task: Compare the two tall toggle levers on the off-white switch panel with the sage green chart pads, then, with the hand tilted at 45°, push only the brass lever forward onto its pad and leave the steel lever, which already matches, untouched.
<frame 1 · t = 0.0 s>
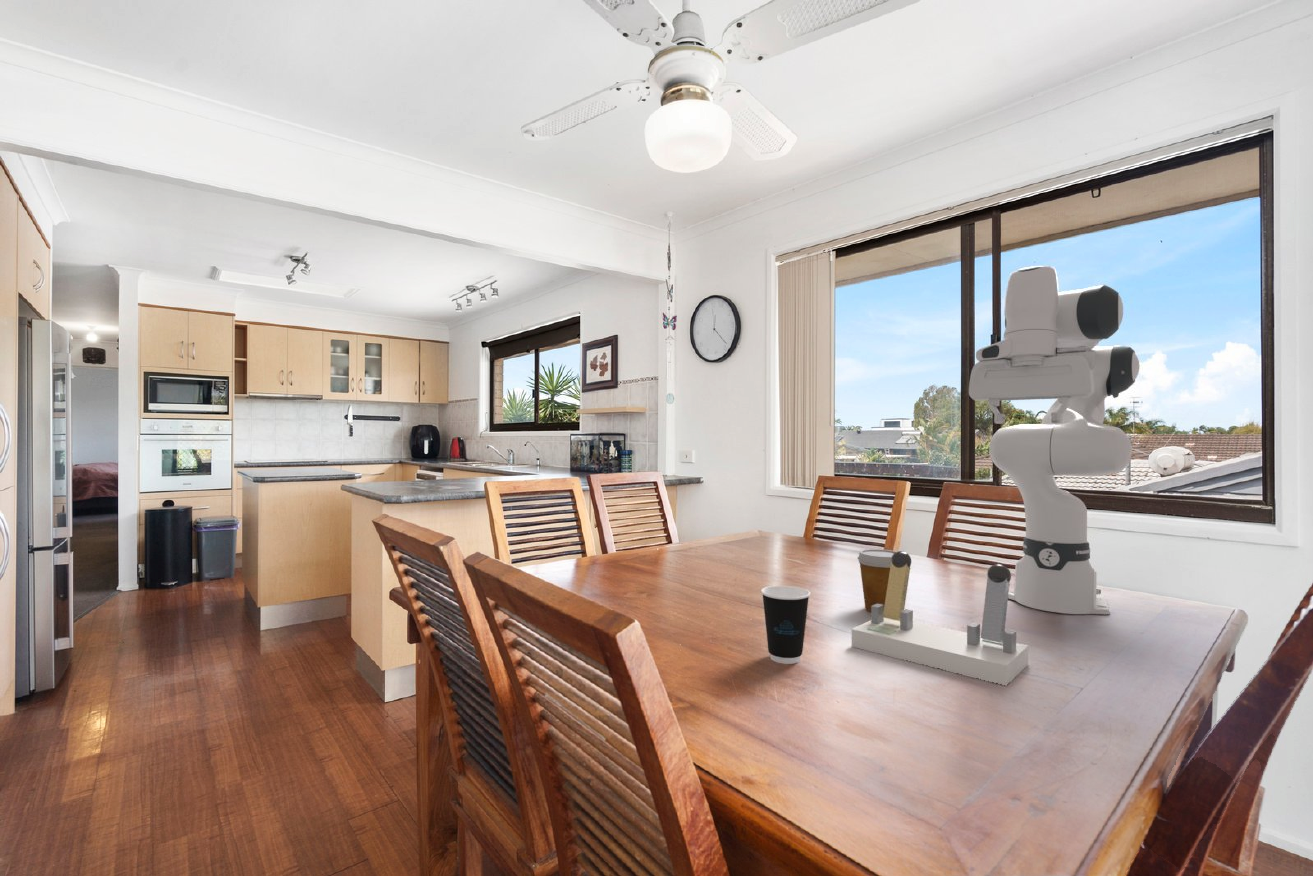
hand: (1027, 423, 116), 39 cm above the table, tool pointing down, fingers open, 8 cm apart
steel lever: (996, 602, 99), point 10 cm above the table, hinge at -20.0°
dixie cup: (785, 659, 101), on the table
disposable coffee cup: (881, 611, 129), on the table
brass lever: (897, 585, 111), point 10 cm above the table, hinge at -20.0°
switch panel: (936, 655, 103), on the table
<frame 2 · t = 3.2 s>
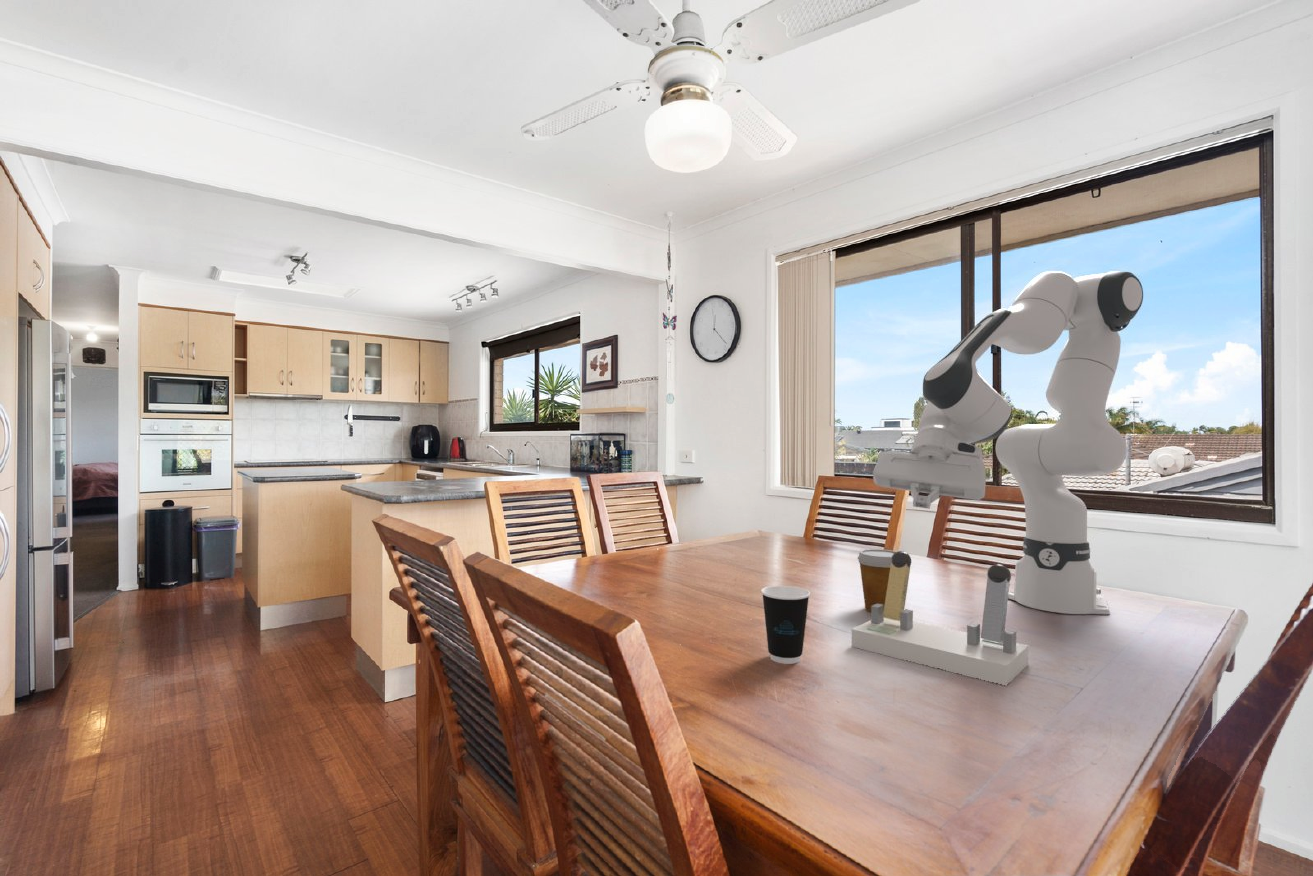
hand: (921, 505, 117), 23 cm above the table, tool tilted 45°, fingers closed
nothing on the table moved.
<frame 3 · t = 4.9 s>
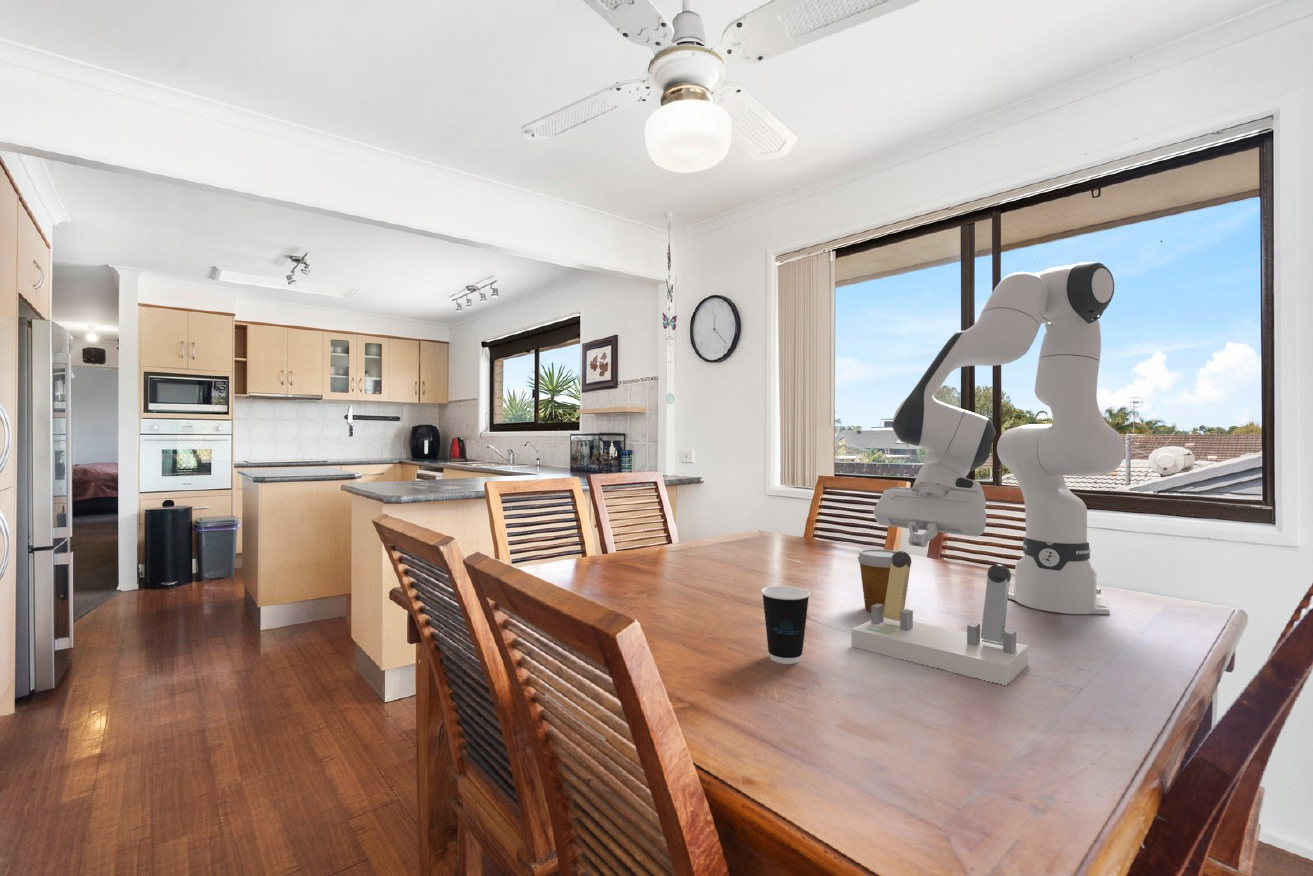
hand: (916, 544, 117), 16 cm above the table, tool tilted 45°, fingers closed
nothing on the table moved.
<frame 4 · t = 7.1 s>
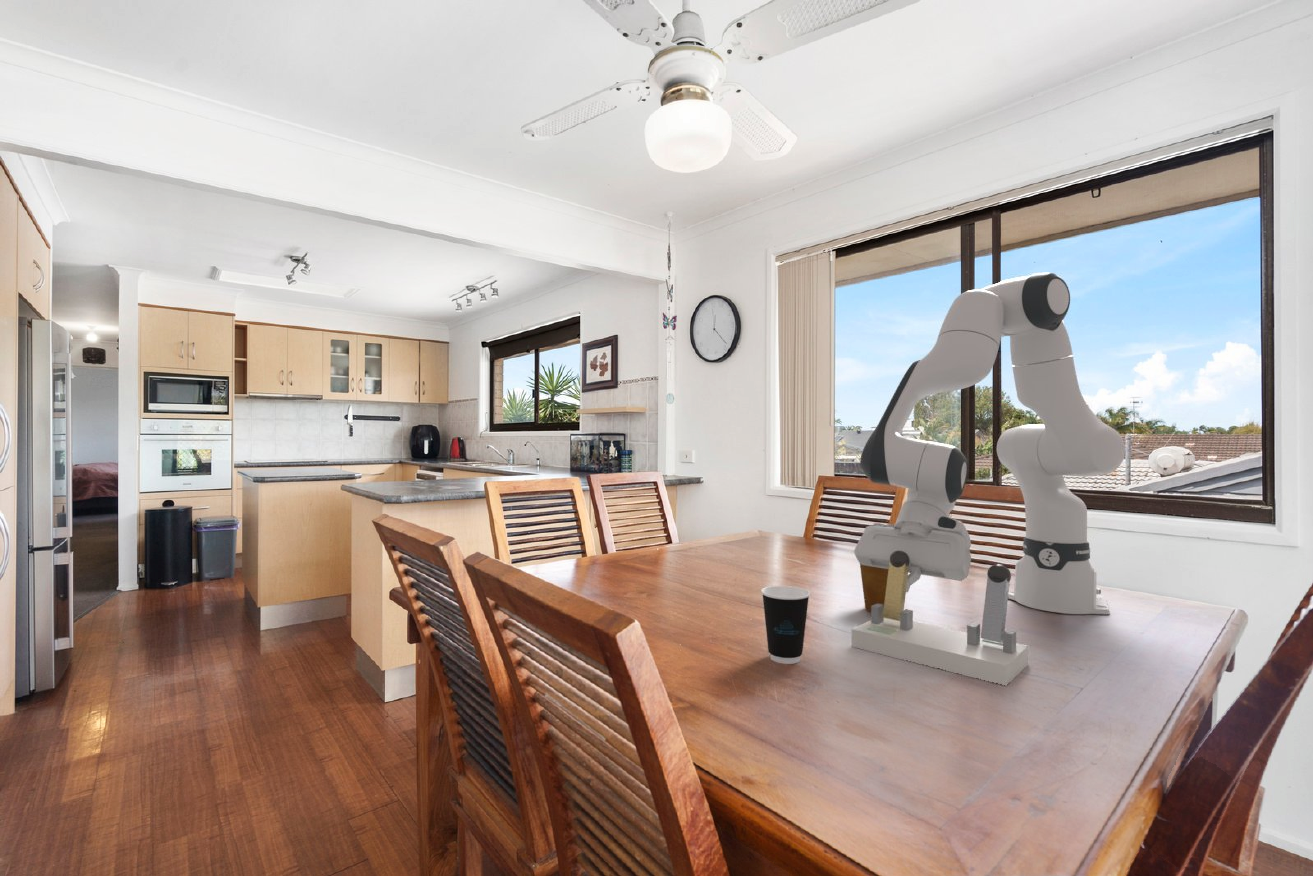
hand: (898, 589, 112), 9 cm above the table, tool tilted 45°, fingers closed, pressing on brass lever
brass lever: (896, 584, 110), point 10 cm above the table, hinge at -16.3°, touching gripper
everything else where it was.
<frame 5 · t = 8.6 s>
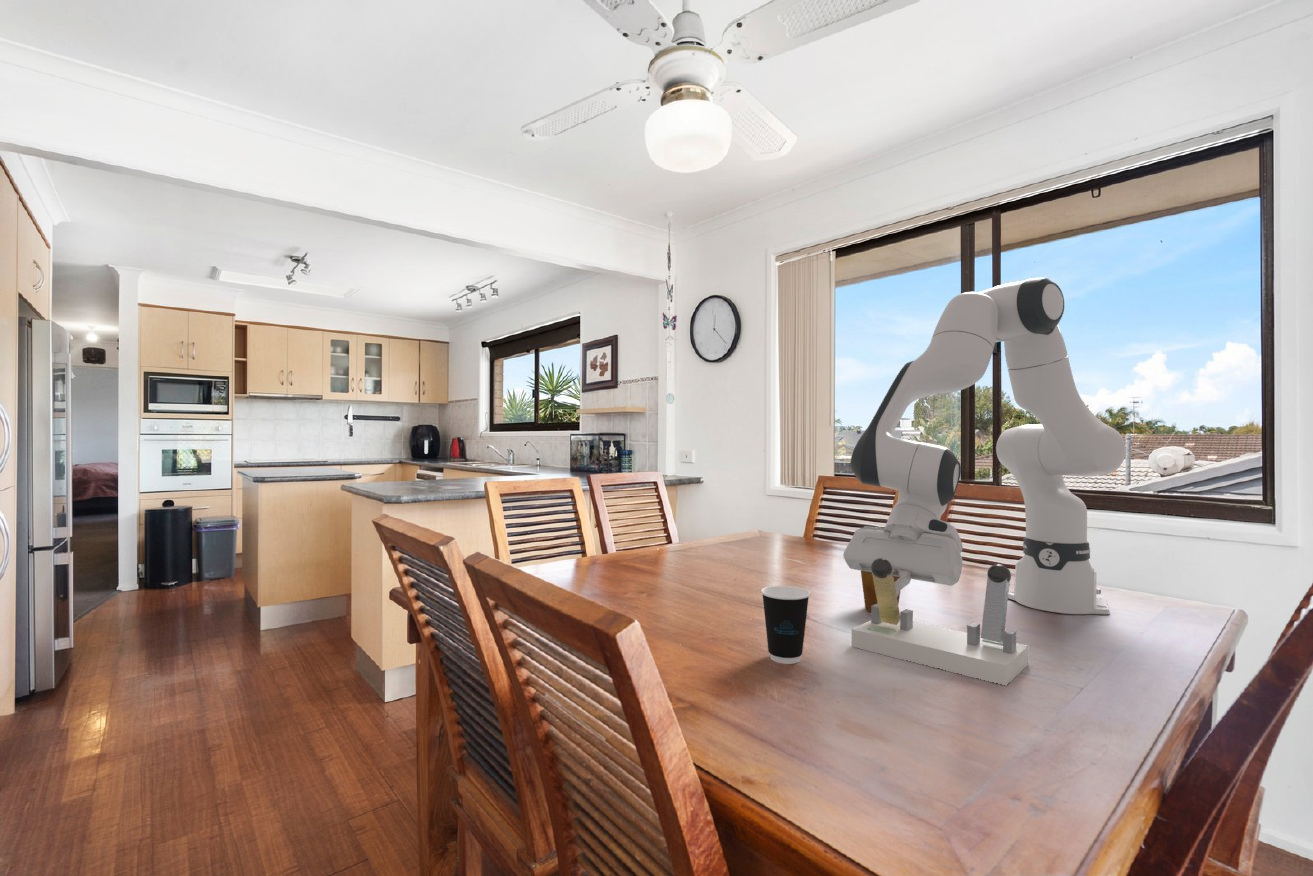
hand: (887, 594, 108), 9 cm above the table, tool tilted 45°, fingers closed, pressing on brass lever
brass lever: (885, 590, 107), point 10 cm above the table, hinge at 21.7°, touching gripper
everything else where it was.
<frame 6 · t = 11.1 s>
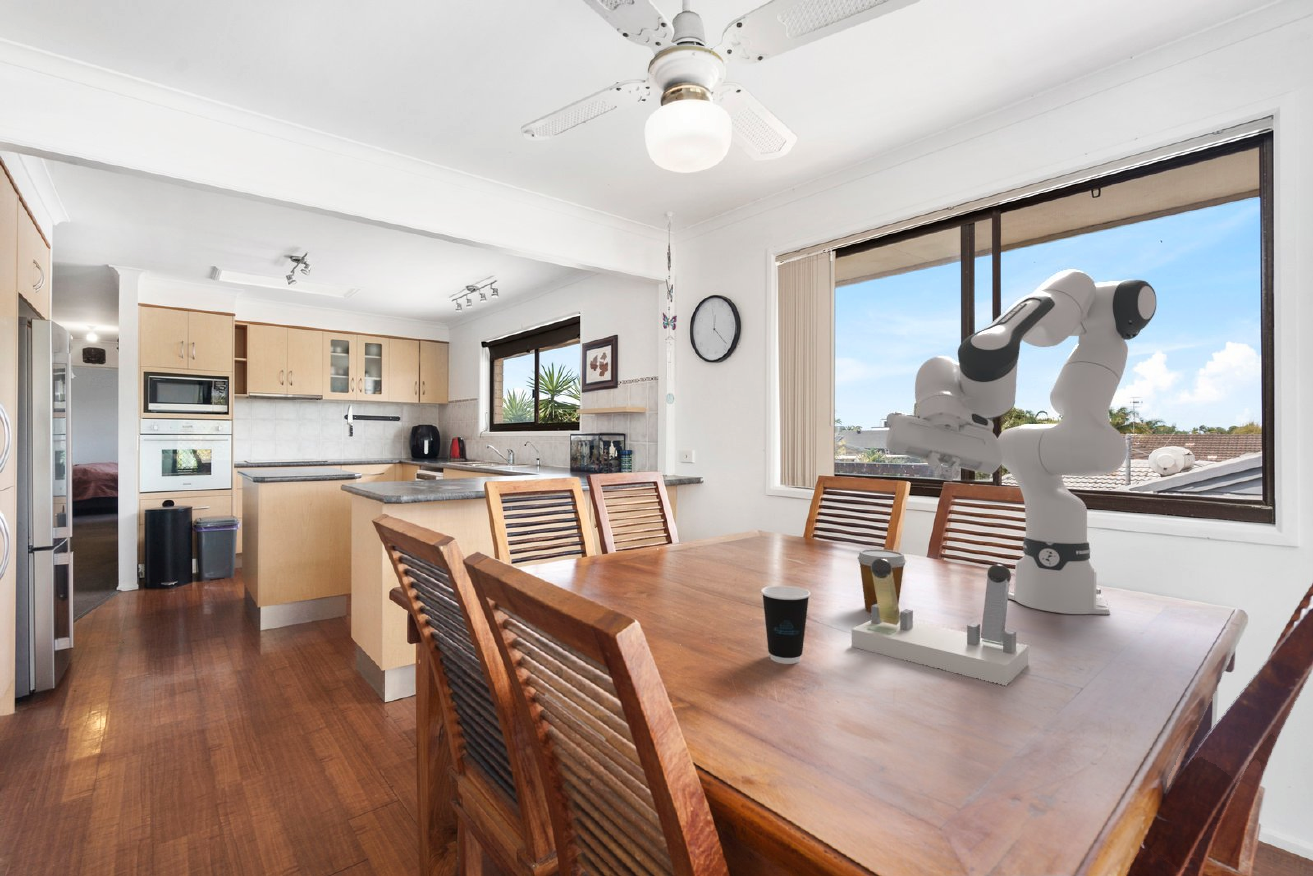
hand: (944, 477, 111), 29 cm above the table, tool tilted 45°, fingers closed
brass lever: (885, 590, 107), point 10 cm above the table, hinge at 21.8°
everything else where it was.
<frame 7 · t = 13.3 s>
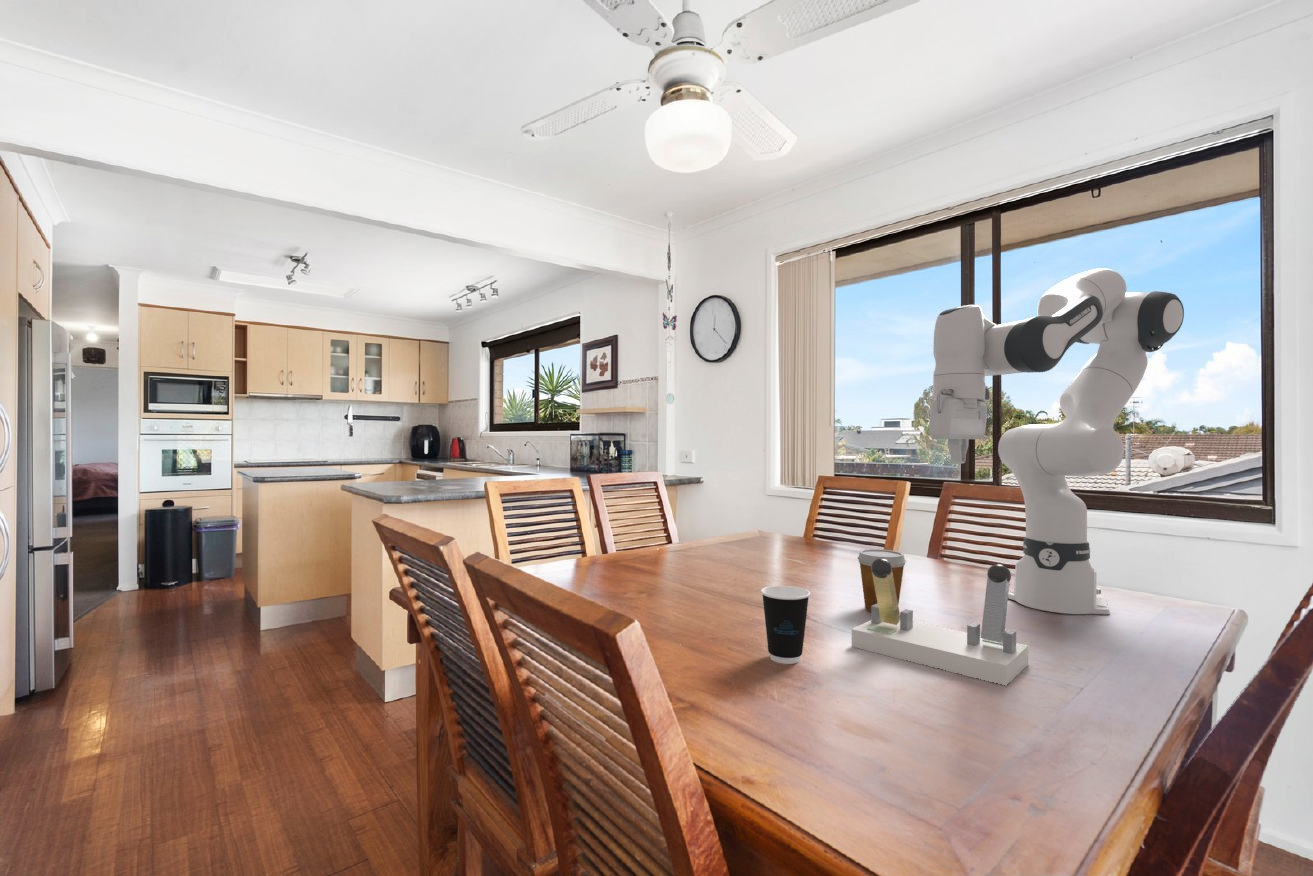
hand: (958, 463, 118), 31 cm above the table, tool pointing down, fingers closed
nothing on the table moved.
at the end: brass lever at +22° (first picture: -20°); steel lever at -20° (first picture: -20°) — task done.
